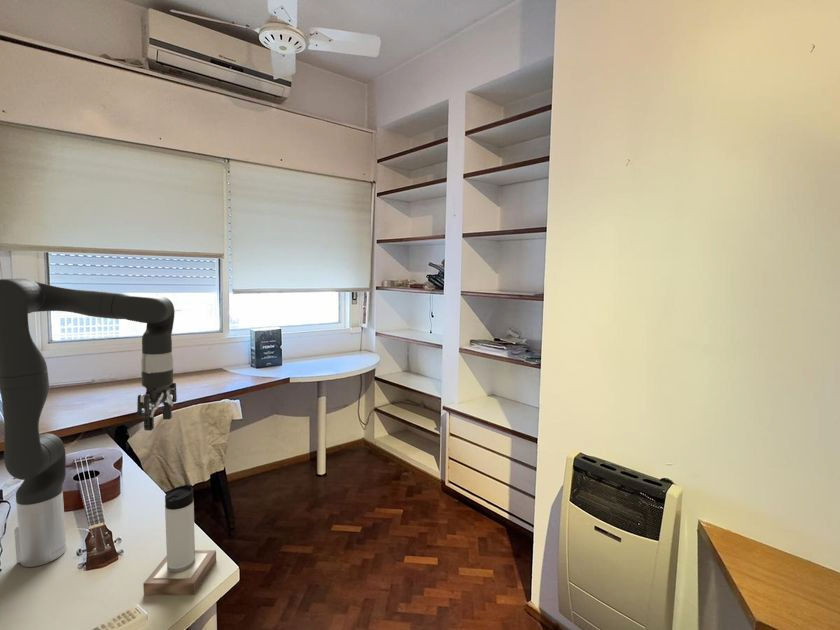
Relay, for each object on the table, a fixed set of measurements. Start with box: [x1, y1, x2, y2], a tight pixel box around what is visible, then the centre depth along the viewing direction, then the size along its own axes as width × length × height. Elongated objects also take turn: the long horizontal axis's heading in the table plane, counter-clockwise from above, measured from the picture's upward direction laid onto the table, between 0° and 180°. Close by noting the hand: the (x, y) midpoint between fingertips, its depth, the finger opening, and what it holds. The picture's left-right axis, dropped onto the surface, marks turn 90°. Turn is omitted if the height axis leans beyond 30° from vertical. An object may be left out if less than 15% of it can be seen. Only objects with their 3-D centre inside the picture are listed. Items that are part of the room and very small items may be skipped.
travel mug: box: [164, 483, 196, 573], centre depth 106 cm, size 6×7×20 cm
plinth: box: [142, 549, 217, 596], centre depth 107 cm, size 12×12×3 cm
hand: (158, 424), depth 118 cm, fingers open, 8 cm apart
